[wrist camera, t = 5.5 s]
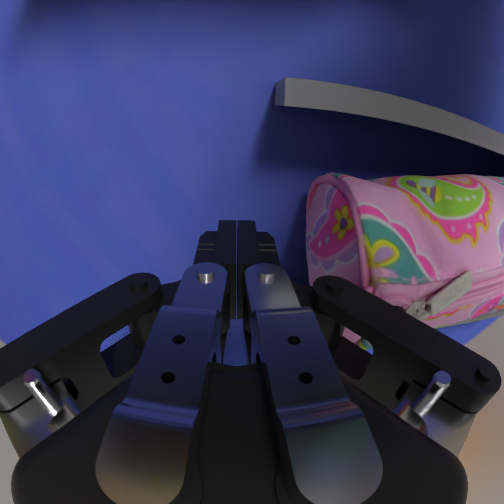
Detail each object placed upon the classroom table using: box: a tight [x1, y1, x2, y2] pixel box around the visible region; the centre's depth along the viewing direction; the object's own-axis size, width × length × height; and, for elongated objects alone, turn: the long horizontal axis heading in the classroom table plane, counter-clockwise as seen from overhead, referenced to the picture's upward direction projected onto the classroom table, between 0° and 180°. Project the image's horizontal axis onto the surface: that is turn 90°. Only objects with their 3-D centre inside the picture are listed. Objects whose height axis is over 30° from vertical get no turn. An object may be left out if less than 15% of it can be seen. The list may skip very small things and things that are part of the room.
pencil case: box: [306, 172, 504, 350], centre depth 13 cm, size 21×9×9 cm, turn 93°
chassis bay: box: [274, 77, 504, 329], centre depth 15 cm, size 14×24×4 cm, turn 88°
